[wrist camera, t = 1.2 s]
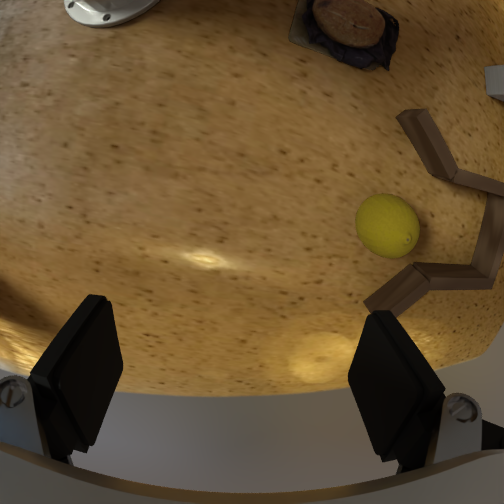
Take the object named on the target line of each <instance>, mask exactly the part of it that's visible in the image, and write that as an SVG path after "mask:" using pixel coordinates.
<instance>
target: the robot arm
mask: <svg viewBox="0 0 504 504" xmlns="http://www.w3.org/2000/svg"><path fill="white" fill-rule="evenodd" d="M159 1H160V0H64V6H65V9H66V12H67V13H68V15H69V16H70V17H71V18H72V19H73V20H75V21H76V22H78V23H80V24H82V25H84V26H88V27H93V28H103V27H110V26H114V25H118V24H121V23H124V22H127V21H129V20H131V19H134V18H136V17H137V16H139V15H141V14H143V13H144V12H146V11H147V10H149V9H150V8H151V7H153V6H154V5H155V4H156V3H158V2H159ZM122 371H123V360H122V355H121V351H120V346H119V341H118V336H117V331H116V326H115V321H114V315H113V309H112V304H111V302H110V301H107V298H106V297H105V296H101V295H92V294H89V295H88V296H87V297H86V298H85V299H84V300H83V302H82V303H81V304H80V305H79V307H78V308H77V309H76V311H75V312H74V313H73V314H72V316H71V317H70V318H69V319H68V321H67V322H66V323H65V325H64V326H63V327H62V329H61V330H60V331H59V333H58V334H57V335H56V337H55V338H54V339H53V341H52V342H51V343H50V345H49V346H48V347H47V349H46V350H45V352H44V353H43V354H42V356H41V357H40V359H39V360H38V362H37V363H36V364H35V366H34V367H33V369H32V370H31V372H30V374H31V375H30V376H29V378H28V379H25V378H23V377H21V376H16V375H14V376H8V377H4V378H3V379H1V380H0V504H504V428H503V427H500V426H498V425H495V424H493V423H490V422H487V421H485V420H482V413H481V408H480V406H479V404H478V403H477V402H476V401H475V400H474V399H473V398H472V397H470V396H468V395H466V394H463V393H452V394H450V395H448V396H447V397H446V396H445V395H444V393H443V392H444V391H445V387H444V385H443V384H442V382H441V381H440V380H439V378H438V377H437V375H436V374H435V372H434V370H433V369H432V368H431V366H430V365H429V363H428V362H427V360H426V359H425V357H424V356H423V355H422V353H421V352H420V350H419V349H418V347H417V346H416V345H415V343H414V342H413V340H412V339H411V338H410V336H409V335H408V334H407V332H406V331H405V329H404V328H403V327H402V325H401V324H400V323H399V321H398V320H397V319H396V317H395V316H394V315H393V313H392V312H391V311H390V310H374V311H373V312H372V314H369V315H368V316H367V318H366V321H365V325H364V328H363V331H362V334H361V337H360V340H359V343H358V346H357V349H356V352H355V355H354V358H353V361H352V364H351V366H350V369H349V372H348V382H349V385H350V387H351V390H352V393H353V395H354V397H355V400H356V403H357V406H358V408H359V411H360V413H361V416H362V419H363V422H364V424H365V427H366V429H367V432H368V435H369V438H370V441H371V443H372V446H373V449H374V451H375V453H376V454H377V455H380V457H381V460H382V462H387V461H391V460H395V459H397V461H398V463H399V466H398V469H397V472H396V475H393V476H389V477H385V478H381V479H377V480H372V481H367V482H362V483H357V484H351V485H345V486H339V487H332V488H325V489H316V490H307V491H294V492H278V493H221V492H206V491H193V490H184V489H175V488H168V487H161V486H155V485H149V484H143V483H138V482H133V481H128V480H124V479H119V478H115V477H111V476H107V475H103V474H99V473H96V472H92V471H89V470H85V469H82V468H78V467H75V466H74V465H73V462H72V459H71V456H70V455H71V454H72V452H73V450H77V451H80V452H83V453H87V451H88V448H89V445H90V446H93V445H94V443H95V441H96V438H97V435H98V433H99V430H100V428H101V425H102V422H103V419H104V417H105V414H106V411H107V409H108V406H109V404H110V401H111V398H112V396H113V393H114V391H115V389H116V386H117V384H118V381H119V379H120V376H121V374H122Z"/></svg>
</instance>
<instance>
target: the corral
mask: <svg viewBox="0 0 504 504" xmlns="http://www.w3.org/2000/svg"><path fill="white" fill-rule="evenodd" d="M396 119H397V120H398V122H399V123H400V125H401V126H402V128H403V130H404V131H405V133H406V134H407V136H408V138H409V139H410V141H411V143H412V144H413V146H414V148H415V149H416V151H417V153H418V155H419V156H420V158H421V160H422V162H423V164H424V165H425V167H426V169H427V171H428V173H430V174H432V176H434V177H438V178H441V179H444V180H447V181H450V182H453V183H457V184H461V185H465V186H468V187H472V188H476V189H480V190H483V191H487V192H488V197H487V202H486V207H485V212H484V217H483V221H482V225H481V230H480V234H479V238H478V241H477V245H476V249H475V252H474V256H473V259H472V263H471V265H460V264H441V263H422V262H414V263H413V266H412V265H411V264H409V265H408V266H406V267H405V268H404V269H403V270H402V271H401V272H399V273H398V274H397V275H396V276H395V277H393V278H392V279H391V280H390V281H388V282H387V283H386V284H385V285H384V286H382V287H381V288H380V289H379V290H377V291H376V292H375V293H373V294H372V295H371V296H370V297H368V298H367V299H366V300H365V301H363V302H364V304H365V305H366V307H367V308H368V310H369V312H370V313H371V314H372V312H373V311H374V310H390V311H391V312H392V313H393V315H394V316H395V317H396V318H397V317H398V316H399V315H400V314H402V313H403V312H404V311H405V310H407V309H408V308H409V307H410V306H411V305H413V304H414V303H415V302H416V301H417V300H419V299H420V298H421V297H422V296H423V295H425V294H426V293H427V292H428V291H429V290H480V289H492V287H493V284H494V281H495V278H496V275H497V272H498V269H499V266H500V263H501V260H502V256H503V253H504V183H503V182H500V181H497V180H494V179H491V178H488V177H485V176H482V175H479V174H475V173H472V172H469V171H465V170H462V169H459V168H458V167H457V165H456V163H455V161H454V159H453V156H452V154H451V152H450V150H449V148H448V146H447V144H446V143H445V141H444V139H443V137H442V135H441V133H440V131H439V129H438V128H437V126H436V124H435V122H434V121H433V119H432V117H431V115H430V114H429V112H428V110H427V109H411V110H404V111H403V112H402V113H401V114H399V115H398V116H397V117H396Z"/></svg>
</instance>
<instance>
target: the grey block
mask: <svg viewBox="0 0 504 504" xmlns="http://www.w3.org/2000/svg"><path fill="white" fill-rule="evenodd" d="M484 69H485V80H486V94H487V95H489V96H491V97H494V98H496V99H499V100H501V101H504V65H497V66H488V67H484Z"/></svg>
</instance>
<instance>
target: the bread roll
mask: <svg viewBox="0 0 504 504" xmlns="http://www.w3.org/2000/svg"><path fill="white" fill-rule="evenodd" d="M393 22H395V23H394V24H393ZM395 25H396V26H395ZM398 34H399V23H398V21H397V20H396V19H395V18H394V17H393V16H391V15H390V14H388V13H387V12H385V11H383V10H381V9H378V8H374V7H373V6H372V5H370V4H369V3H367V2H365V1H364V0H299V1H298V4H297V7H296V11H295V15H294V18H293V22H292V26H291V29H290V33H289V37H288V38H289V41H290V42H292V43H294V44H297V45H300V46H302V47H305V48H308V49H311V50H314V51H316V52H319V53H321V54H324V55H327V56H329V57H332V58H335V59H337V60H338V61H342V62H344V63H346V64H349V65H352V66H355V67H358V68H360V69H362V68H365V69H368V70H374V69H376V67H379V65H382V66H383V67H384V68H385V69H386V70H387V71H389V65H390V60H391V57H392V54H393V53H394V52H395V51H396V50H395V49H396V42H397V39H398Z"/></svg>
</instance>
